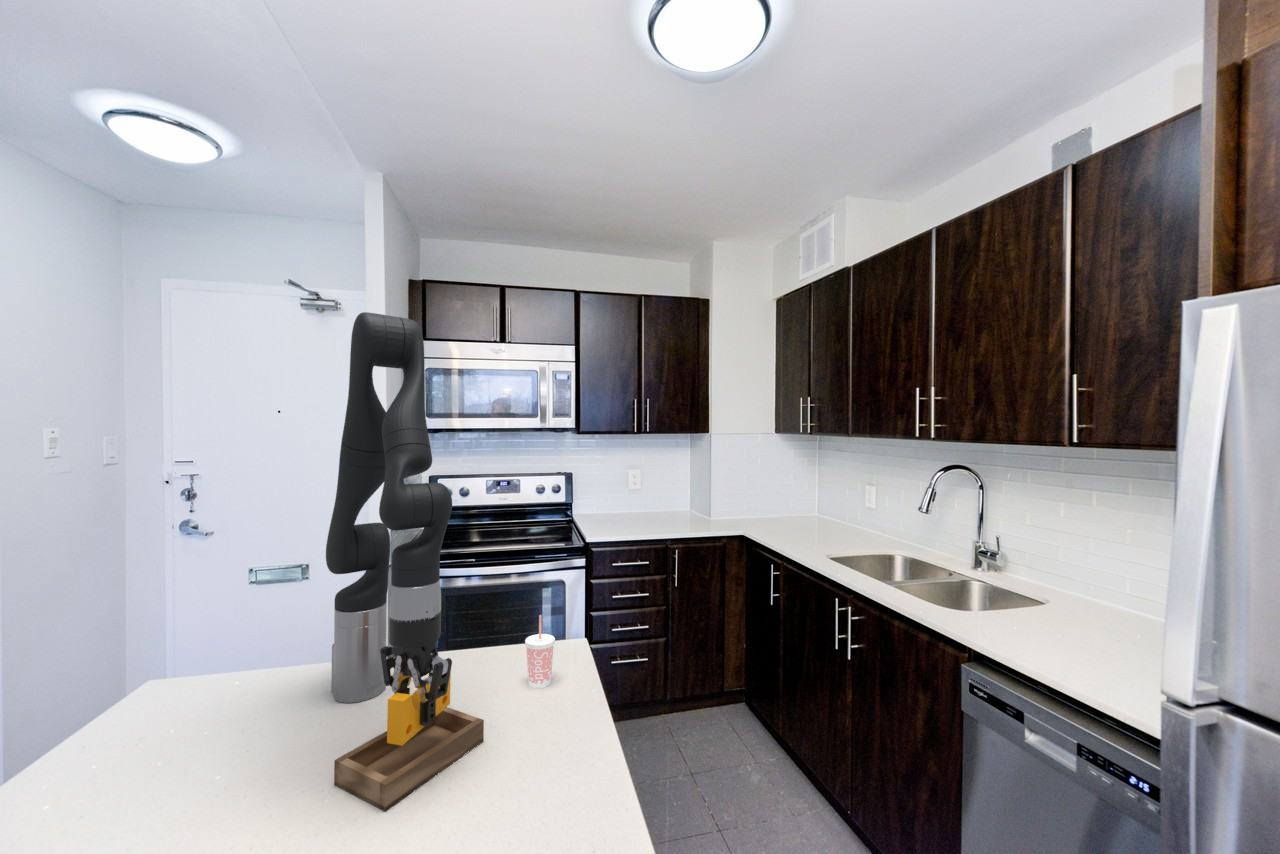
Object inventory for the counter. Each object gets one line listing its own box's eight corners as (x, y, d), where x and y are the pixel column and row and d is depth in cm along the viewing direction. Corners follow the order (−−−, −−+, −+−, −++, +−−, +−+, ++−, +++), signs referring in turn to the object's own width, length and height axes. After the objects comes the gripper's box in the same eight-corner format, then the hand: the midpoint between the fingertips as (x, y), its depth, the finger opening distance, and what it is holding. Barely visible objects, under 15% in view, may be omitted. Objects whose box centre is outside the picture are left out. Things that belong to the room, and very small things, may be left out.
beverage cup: (520, 688, 106) (520, 619, 106) (530, 675, 112) (531, 609, 112) (549, 691, 105) (550, 621, 105) (558, 677, 111) (558, 610, 111)
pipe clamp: (427, 700, 89) (428, 662, 89) (450, 704, 88) (450, 665, 88) (376, 741, 77) (377, 697, 77) (402, 745, 76) (403, 701, 76)
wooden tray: (334, 784, 77) (334, 760, 77) (435, 723, 93) (435, 703, 93) (385, 811, 71) (385, 785, 72) (483, 741, 88) (483, 719, 88)
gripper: (364, 610, 83) (363, 718, 82) (427, 625, 76) (426, 743, 76) (405, 597, 89) (404, 697, 89) (466, 610, 83) (466, 718, 82)
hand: (414, 718), depth 82 cm, fingers closed on pipe clamp, 5 cm apart
